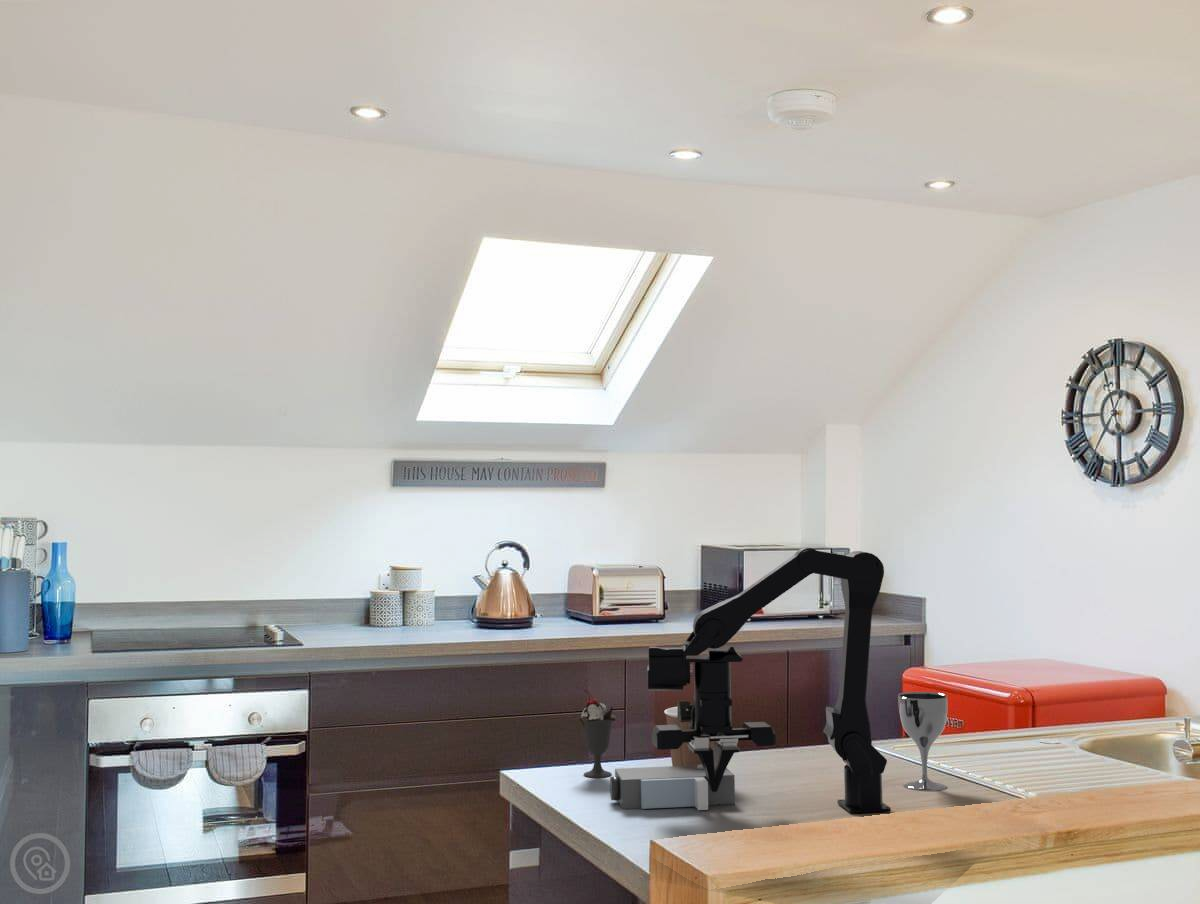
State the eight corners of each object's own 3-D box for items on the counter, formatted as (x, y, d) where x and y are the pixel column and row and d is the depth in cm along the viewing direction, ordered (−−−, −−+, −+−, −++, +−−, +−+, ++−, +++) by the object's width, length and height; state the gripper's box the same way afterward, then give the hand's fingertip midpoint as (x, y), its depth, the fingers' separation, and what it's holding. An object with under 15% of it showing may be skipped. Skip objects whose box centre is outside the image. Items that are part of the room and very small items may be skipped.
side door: (708, 809, 179) (707, 781, 179) (644, 812, 178) (644, 784, 178) (703, 804, 182) (703, 776, 183) (641, 807, 181) (640, 779, 181)
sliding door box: (735, 803, 183) (734, 771, 184) (614, 809, 181) (614, 777, 181) (723, 791, 191) (722, 761, 192) (608, 796, 189) (607, 765, 189)
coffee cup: (735, 778, 201) (734, 708, 201) (707, 790, 192) (706, 717, 193) (683, 771, 206) (682, 703, 207) (654, 783, 198) (652, 712, 198)
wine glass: (940, 779, 198) (938, 691, 198) (956, 791, 190) (954, 698, 190) (894, 780, 197) (892, 692, 198) (908, 792, 189) (906, 699, 190)
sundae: (573, 772, 207) (572, 688, 207) (608, 769, 209) (607, 685, 210) (585, 780, 200) (584, 693, 201) (621, 777, 203) (620, 690, 204)
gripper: (757, 681, 191) (758, 777, 190) (645, 684, 188) (646, 781, 187) (775, 691, 180) (777, 793, 179) (657, 695, 177) (658, 798, 176)
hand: (713, 791), depth 181 cm, fingers closed
